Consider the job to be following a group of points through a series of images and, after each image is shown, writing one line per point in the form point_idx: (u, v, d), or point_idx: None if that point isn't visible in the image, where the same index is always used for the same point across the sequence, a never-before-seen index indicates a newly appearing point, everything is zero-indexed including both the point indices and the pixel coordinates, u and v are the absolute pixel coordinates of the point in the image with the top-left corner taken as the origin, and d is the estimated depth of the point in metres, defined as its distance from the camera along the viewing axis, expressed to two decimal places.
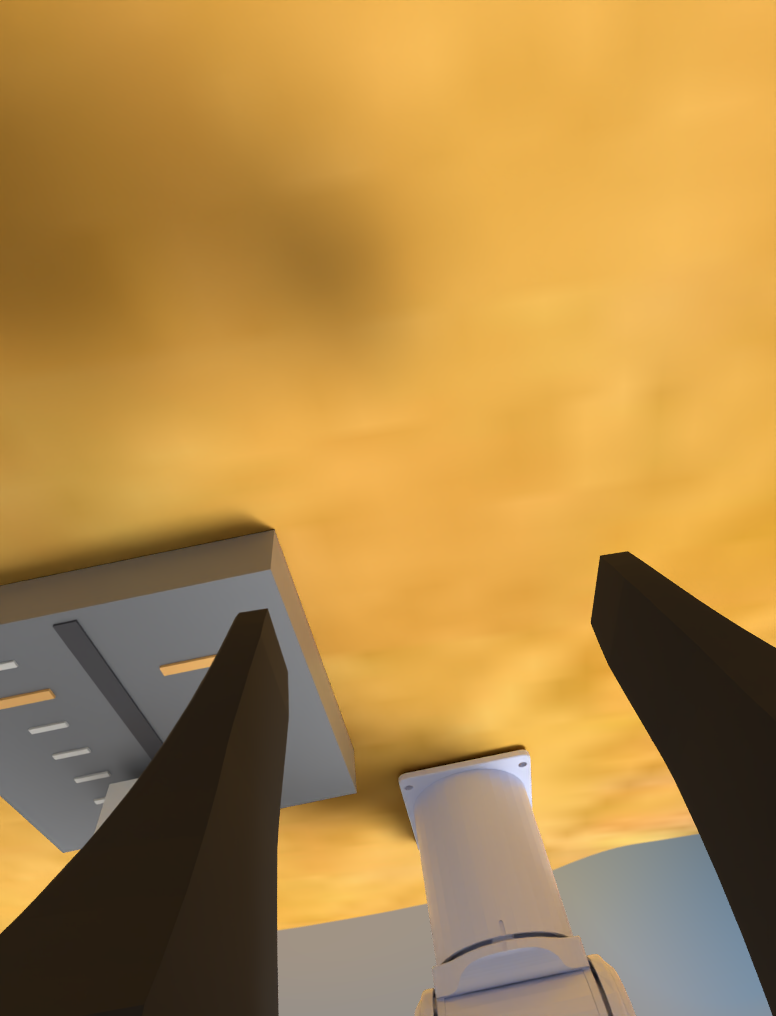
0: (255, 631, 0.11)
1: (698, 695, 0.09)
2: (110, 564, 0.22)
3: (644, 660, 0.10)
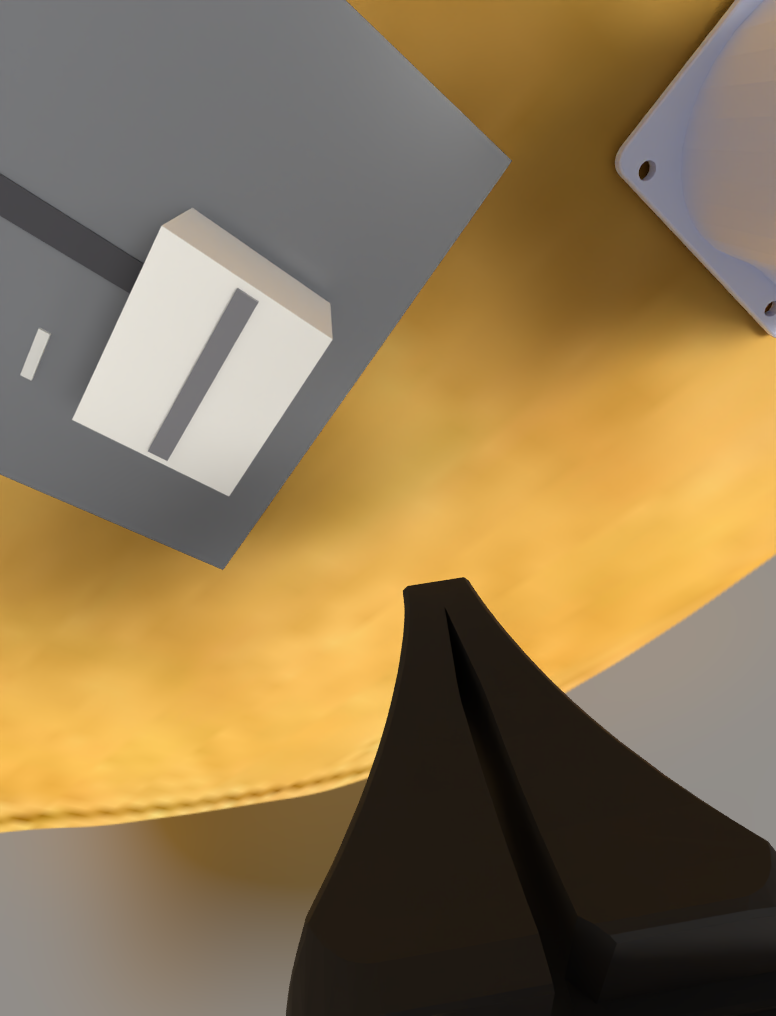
0: (436, 602, 0.11)
1: (486, 730, 0.09)
2: None
3: (462, 690, 0.10)
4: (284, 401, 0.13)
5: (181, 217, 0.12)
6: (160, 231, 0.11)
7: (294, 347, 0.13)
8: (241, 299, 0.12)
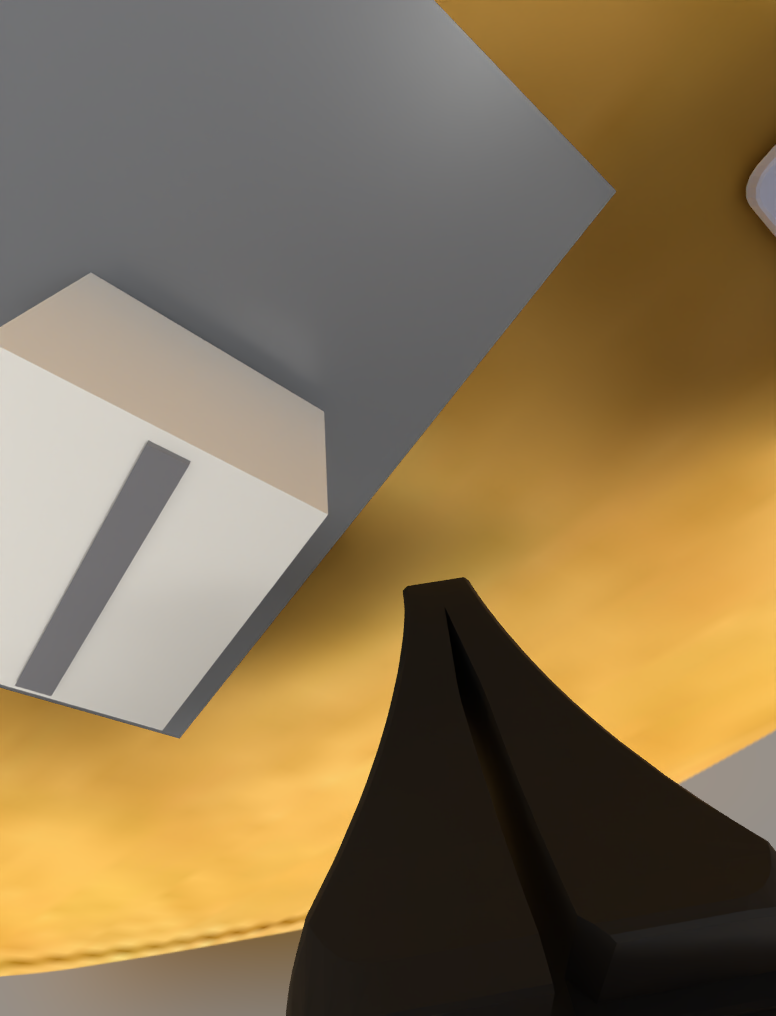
0: (436, 602, 0.11)
1: (486, 730, 0.09)
2: None
3: (462, 689, 0.10)
4: (246, 606, 0.08)
5: (53, 301, 0.07)
6: None
7: (259, 529, 0.07)
8: (156, 458, 0.06)
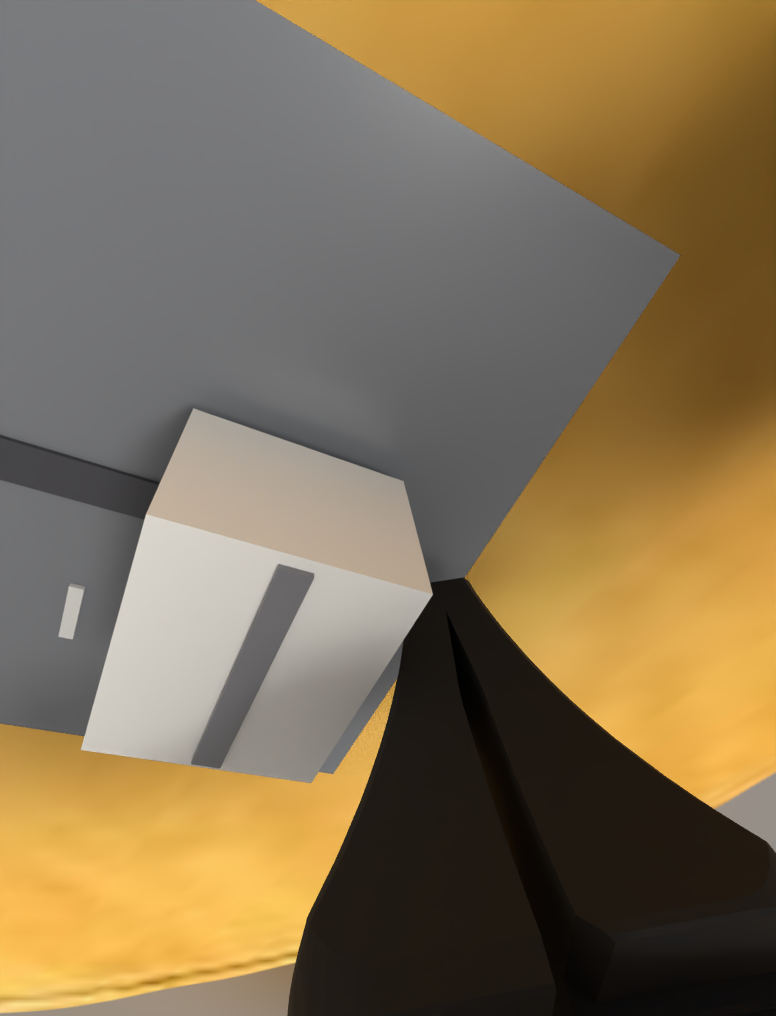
0: (437, 602, 0.11)
1: (485, 730, 0.09)
2: None
3: (462, 690, 0.10)
4: (371, 676, 0.09)
5: (178, 452, 0.08)
6: (146, 520, 0.07)
7: (376, 614, 0.08)
8: (286, 576, 0.08)
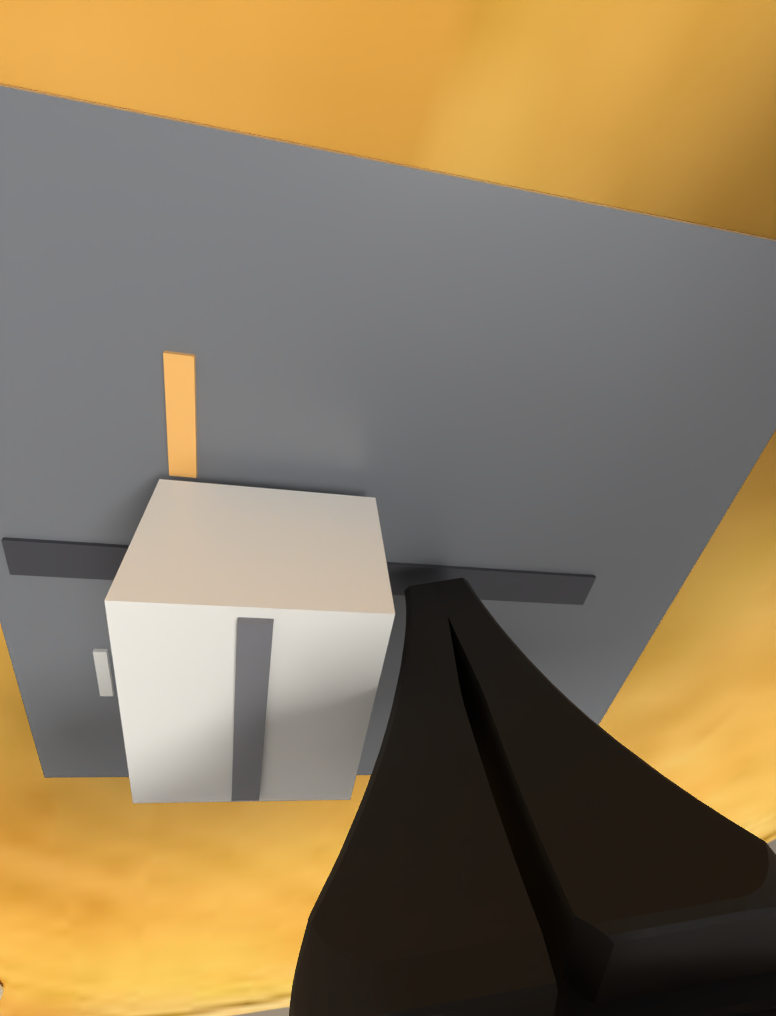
0: (438, 602, 0.11)
1: (485, 730, 0.09)
2: None
3: (460, 690, 0.10)
4: (366, 697, 0.09)
5: (140, 529, 0.09)
6: (107, 605, 0.08)
7: (347, 643, 0.08)
8: (250, 625, 0.08)
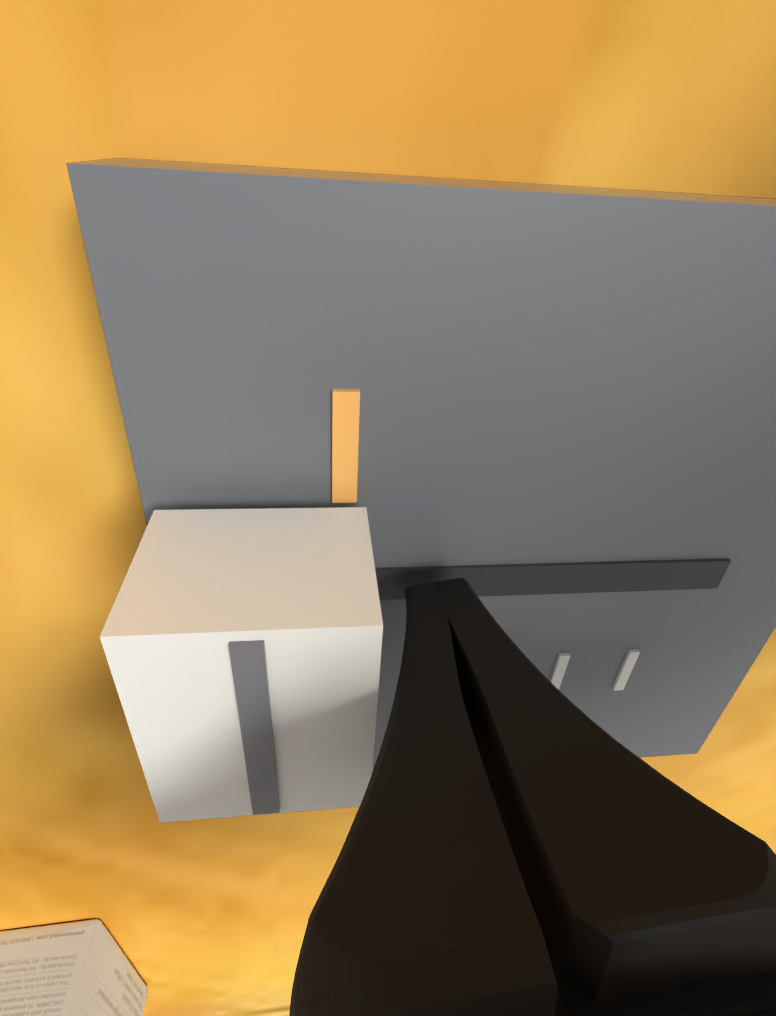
0: (438, 602, 0.11)
1: (484, 731, 0.09)
2: None
3: (460, 690, 0.10)
4: (368, 707, 0.09)
5: (135, 562, 0.09)
6: (103, 641, 0.08)
7: (341, 657, 0.09)
8: (242, 648, 0.08)
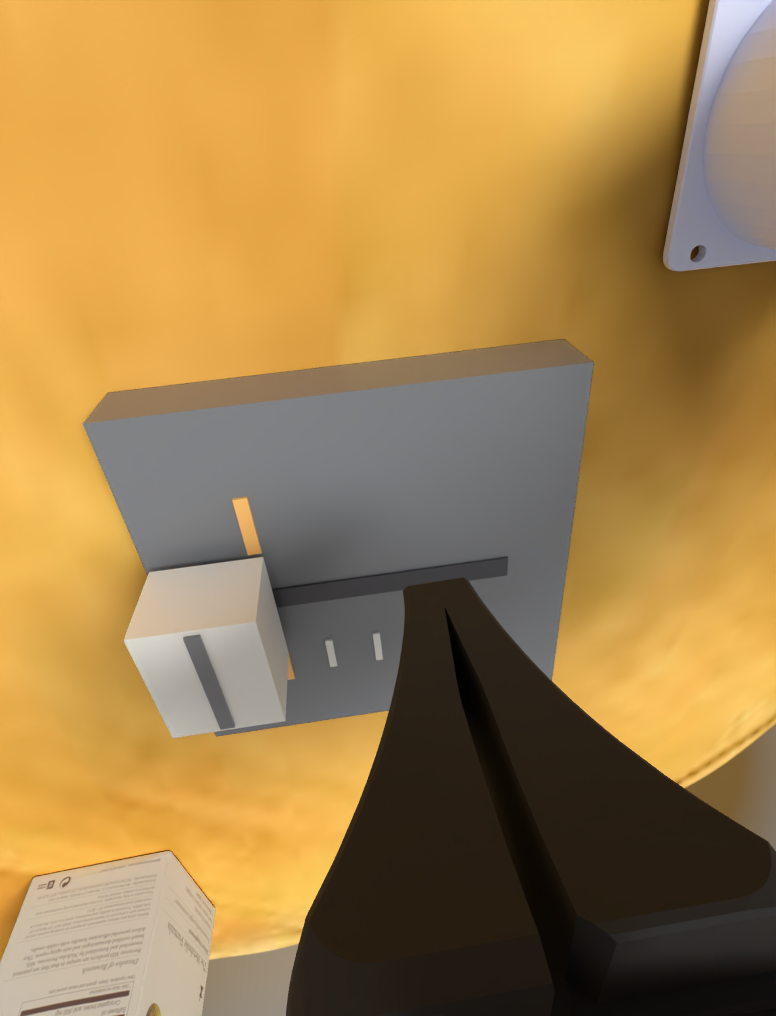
0: (436, 602, 0.11)
1: (486, 730, 0.09)
2: None
3: (462, 689, 0.10)
4: (263, 664, 0.18)
5: (139, 602, 0.18)
6: (125, 642, 0.17)
7: (240, 639, 0.17)
8: (190, 639, 0.17)
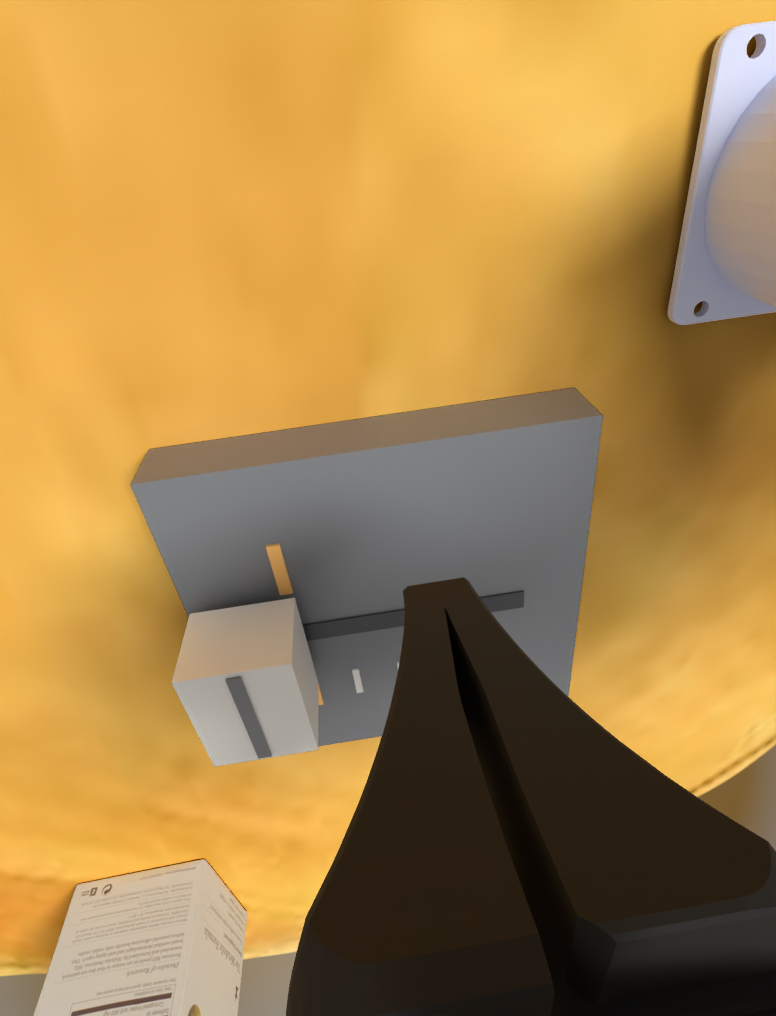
0: (436, 602, 0.11)
1: (486, 730, 0.09)
2: None
3: (462, 690, 0.10)
4: (298, 700, 0.19)
5: (183, 644, 0.20)
6: (173, 684, 0.18)
7: (277, 679, 0.19)
8: (232, 680, 0.19)
